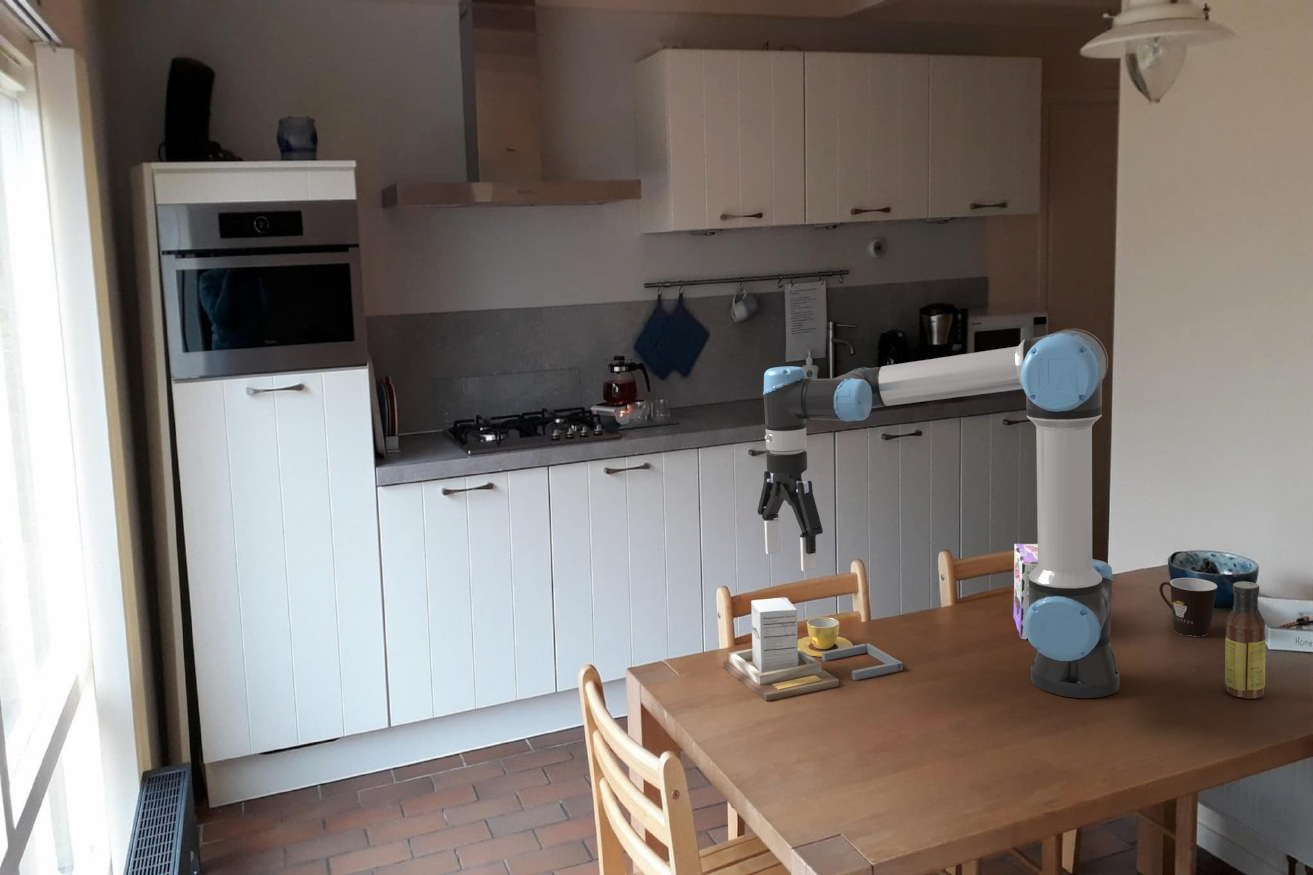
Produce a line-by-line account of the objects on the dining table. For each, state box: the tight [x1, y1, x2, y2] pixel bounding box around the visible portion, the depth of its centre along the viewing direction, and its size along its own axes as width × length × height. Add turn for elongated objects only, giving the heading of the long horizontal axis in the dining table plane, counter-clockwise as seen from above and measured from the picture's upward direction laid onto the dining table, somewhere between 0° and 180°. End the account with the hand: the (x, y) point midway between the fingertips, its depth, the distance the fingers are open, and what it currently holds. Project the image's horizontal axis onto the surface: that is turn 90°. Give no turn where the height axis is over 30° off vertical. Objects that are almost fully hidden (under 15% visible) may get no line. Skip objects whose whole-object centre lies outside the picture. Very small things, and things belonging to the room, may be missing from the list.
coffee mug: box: [1158, 577, 1218, 636], centre depth 229 cm, size 12×9×10 cm
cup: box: [798, 616, 854, 658], centre depth 228 cm, size 12×12×5 cm
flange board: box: [722, 648, 840, 702], centre depth 213 cm, size 18×15×3 cm
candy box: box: [1013, 543, 1038, 640], centre depth 232 cm, size 14×6×16 cm, turn 169°
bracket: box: [821, 642, 904, 681], centre depth 217 cm, size 12×10×2 cm
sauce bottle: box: [1224, 580, 1267, 700], centre depth 196 cm, size 7×6×20 cm
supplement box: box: [750, 597, 799, 673], centre depth 214 cm, size 7×7×13 cm
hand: (790, 561), depth 213 cm, fingers open, 13 cm apart
